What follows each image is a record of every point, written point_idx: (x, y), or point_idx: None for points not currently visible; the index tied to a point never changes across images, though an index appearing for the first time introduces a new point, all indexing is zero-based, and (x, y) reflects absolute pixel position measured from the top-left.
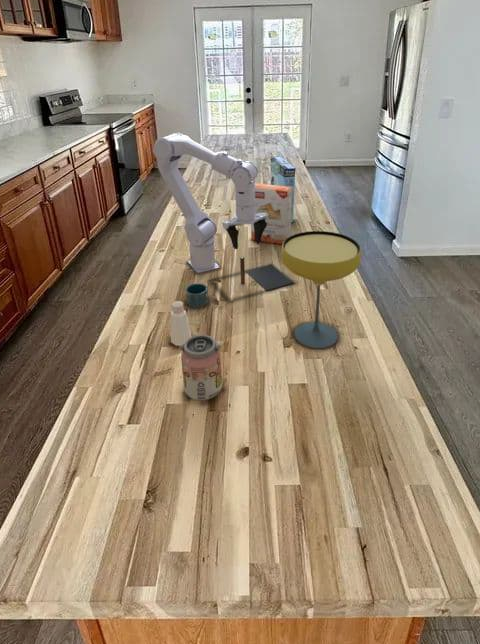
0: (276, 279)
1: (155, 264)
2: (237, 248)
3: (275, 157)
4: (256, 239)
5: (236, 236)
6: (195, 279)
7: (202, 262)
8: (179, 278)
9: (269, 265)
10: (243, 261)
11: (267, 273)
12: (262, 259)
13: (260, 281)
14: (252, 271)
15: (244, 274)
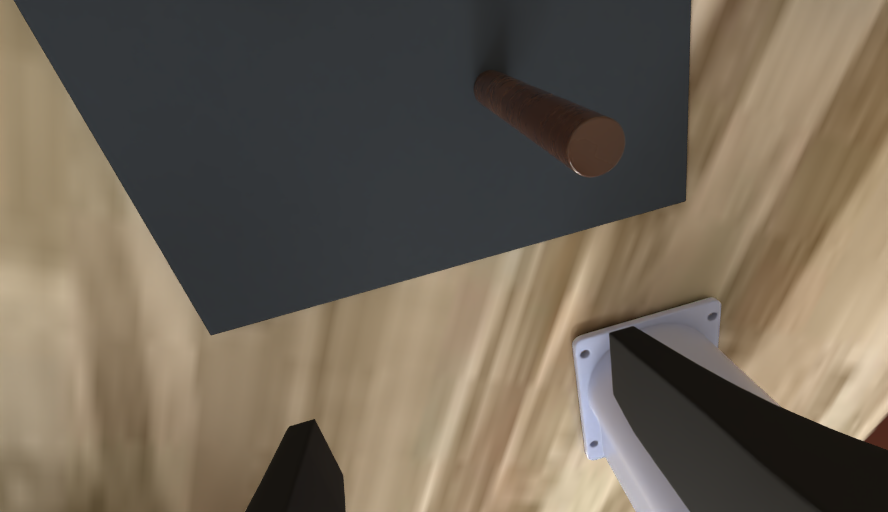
0: (184, 83)
1: (845, 415)
2: (615, 334)
3: None
4: (325, 494)
5: (812, 467)
6: (750, 235)
7: (715, 357)
8: (820, 264)
9: (226, 320)
10: (568, 108)
11: (258, 204)
12: (270, 410)
13: (339, 84)
14: (374, 257)
15: (502, 89)
